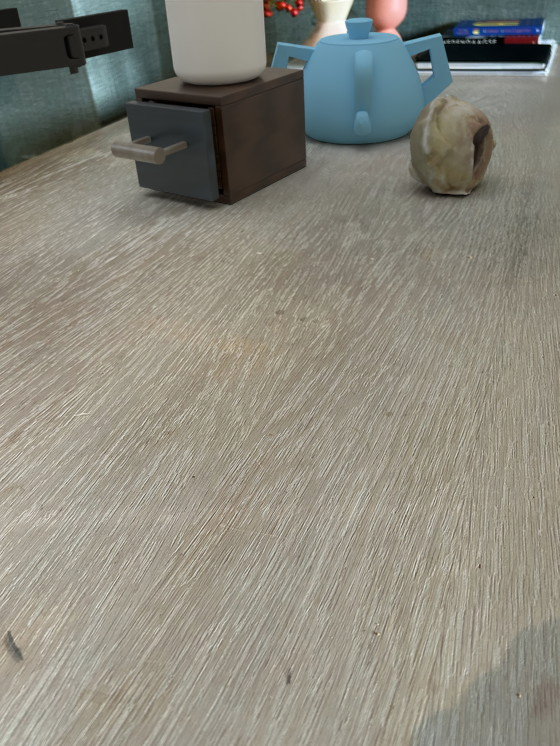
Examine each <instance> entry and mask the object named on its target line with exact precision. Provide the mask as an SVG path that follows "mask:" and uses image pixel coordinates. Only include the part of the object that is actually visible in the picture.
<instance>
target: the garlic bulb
mask: <svg viewBox="0 0 560 746" xmlns="http://www.w3.org/2000/svg"><path fill="white" fill-rule="evenodd" d="M409 136H410V138H409V152H410V161H409V166H408V171H409V172H408V173H409V176H410V177H411V178H412V179H414V180H416V181H418V182H420V183H421V184H423V185H424V186H426V187H428V188H429V189H430V190H431V191H432V193H435V194H436V193H437V194H446V195H465V196H466V195H470V194H472V193H471V192H472V191H473V190H474V189H475V188H477V187H478V185H479V184H480V182H481V181H482V180H483V178H484V177H485V175H486V173H487V170H488V167H489V164H490V162H491V159H492V156H493V151H494V149H495V148H496V147H497V144H498V143H497V140H495V139H494V133H493V128H492V125H491V122H490V120H489V118H488V117H487V115H486V114H485V113H484V112H483V110H481V109H480V108H479V107H477V106H475V105H473V104H471V103H470V102H468V101H464V100H460V99H459V98H458V97H457V96H456V95H451V94H448V93H446V94H445V96H444V97H442V96H437V97H436V98H435V99H434V100H433V101H431V102H430V103H428V104H427V105H426V106H425V107H424V108H423V110H422V111H421V113H420V115H419V116H418V118H417V120H416V122H415V124H414V126H413V128H412V129H411V130H410V135H409Z"/></svg>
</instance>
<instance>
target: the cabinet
mask: <svg viewBox="0 0 560 746" xmlns="http://www.w3.org/2000/svg"><path fill="white" fill-rule="evenodd" d="M134 96H135V101H141V102H149V100H152V99H158V100H167V101H176V102H185V103H194V104H203V105H212V106H215V112H216V122H217V132H218V142H219V152H220V162H221V172H222V182H223V189H218V190H219V198H218V199H216V200H214V201H213V202H217V203H221V204H227V205H233V204H235V203H237V202H239V201H241V200H243V199H244V198H246V197H248V196H251V195H253V194H255V193H256V192H258V191H261V190H262V189H264V188H266V187H268V186H270V185H272V184H274V183H276V182H277V181H280V180H281V179H283V178H285V177H288V176H290V175H291V174H294V173H295V172H297V171H299V170H301V169H303V168H305V167H307V140H306V133H305V103H304V72H303V68H288V67H287V68H275V67H271V66H266V68H265V70H264V71H263V73H262V74H261V75H260V76H258V77H257V78H255V79H252V80H249V81H246V82H241V83H236V84H228V85H195V84H189V83H186V82H184V81H182V80H181V79H179V78H178V77H177V76H174V77H170V78H167V79H163V80H159V81H155V82H153V83H149V84H145V85H142V86H137V87H135V88H134Z"/></svg>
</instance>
